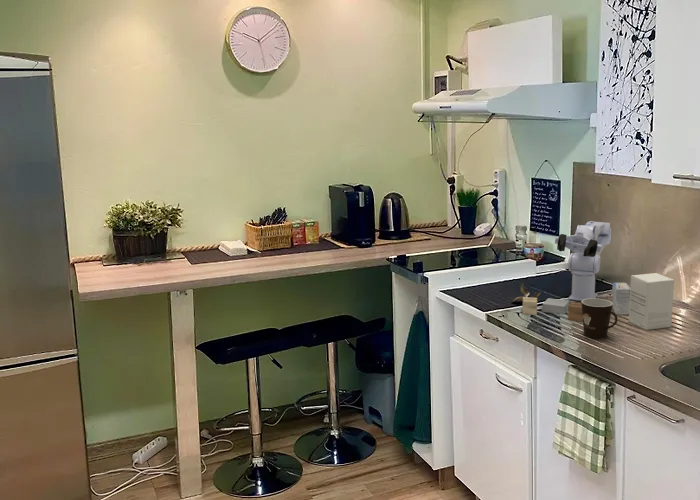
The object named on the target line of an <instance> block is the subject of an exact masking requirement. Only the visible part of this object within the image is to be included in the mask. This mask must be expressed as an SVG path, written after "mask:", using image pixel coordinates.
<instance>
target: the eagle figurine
mask: <svg viewBox="0 0 700 500" xmlns="http://www.w3.org/2000/svg"><path fill="white" fill-rule="evenodd" d="M519 289H520V293H521V294H522V295H523V296H522V295H521V296H518V297H515V298H514V299H513V300H511V301H510V302H511V303H514V302H518V303H519V302H520V303H521V302H523V297H529V298H537V299H538V297H539V296H540V295H541V294H542V291H540V292H539V293H537V292H534V294H533V295H530V292H529V290H528V288H527V287H525V284H524V283H523V282H522V283H520V284H519Z"/></svg>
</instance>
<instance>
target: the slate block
mask: <svg viewBox="0 0 700 500" xmlns="http://www.w3.org/2000/svg"><path fill="white" fill-rule="evenodd" d="M569 305H570V300H569V299H568V300H567V299H558V298H551V297H550V298H549V297H548V298H547V299H546V300H545V301H544V302H543V303H542V312H543V313H551V314H559V315H565V314H566V313H568V306H569Z"/></svg>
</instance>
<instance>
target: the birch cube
mask: <svg viewBox="0 0 700 500" xmlns="http://www.w3.org/2000/svg"><path fill="white" fill-rule="evenodd" d="M522 315H534V316H537V315H538V297H537V298H529V297H523V300H522Z"/></svg>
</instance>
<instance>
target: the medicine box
mask: <svg viewBox="0 0 700 500" xmlns="http://www.w3.org/2000/svg"><path fill="white" fill-rule="evenodd" d="M611 290H612V291H611V292H612V293H611V302H612V303H613V305H612V310H613V312H614V313H615V314H616V315H619V316H622V315H623V316H625V315H626V316H629V306H630V286H629V285H628V283H626V282H613V283H612V289H611Z"/></svg>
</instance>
